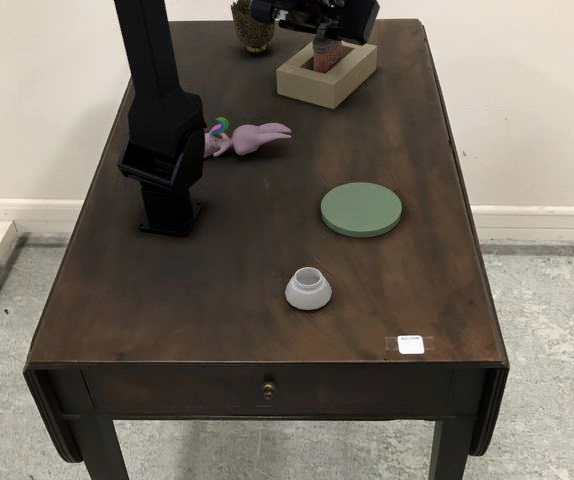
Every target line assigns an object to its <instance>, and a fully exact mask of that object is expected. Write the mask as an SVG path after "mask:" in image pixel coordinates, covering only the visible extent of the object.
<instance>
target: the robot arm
mask: <svg viewBox="0 0 574 480" xmlns="http://www.w3.org/2000/svg"><path fill="white" fill-rule="evenodd" d="M113 4H114V8H115V12H116V17H117V21H118V25H119V30H120V34H121V38H122V42H123V46H124V51H125V54H126V60H127V64H128V68H129V72H130V75H131V80H132V85H133V88H134V95H133V97H132V100H131V102H130V105H129V107H128V110H127V112H126V116H127V124H128V125H127V126H128V132H127V136H126V139H125V141H124V144H123V147H122V151H121V153H120V156H119V158H118V162H117V165H116V167H117V169H118V171H119V172H120V173H121V175H122V176H123V177H124V178H127V179H128V178H129V179H132V180H135V181H138V183H139V187H140V194H141V198H142V202H143V207H144V212H145V213H144V214H143V216H142V218H141V219H140V221H139V222H138V224H137V229H138V231H140V232H147V233H155V234H162V235H170V236H176V237H187V236H188V235H189V233H190V231H191V230H192V228H193V226H194V224H195V222H196V220H197V219H198V217H199V215H200V214H201V212H202V210H203V207H204V204H203V202H201V201H195V200H192V196H191V190H190V188H191V187H192V186H194V185H195V184H196V183H197V182H199V181H200V180H201V179H202V178H203V172H204V161H205V158H204V153H205V133H206V131H205V129H207V128H208V124H207V122H206V120H205V116H204V104H203V103H204V102H203V100H202V98H201V96H200V95H199V94H196V93H193V92H190V91H187V90H186V91H185V90H184V89H183V88H182V86H181V83H180V77H179V72H178V67H177V61H176V56H175V50H174V45H173V40H172V39H173V38H172V33H171V29H170V23H169V17H168V12H167V6H166V0H113ZM274 9H276V12H275V15H274V18H275V19H276V20H278V27H279V28H280V29H283V30H288V31H292V32H296V33H297V32H298V33H305V34H311V35H315V36H316V35H317V29H318V27H319V26H320V25H321V24H324V25H328V26H327V29H326V32H325V34H324V38H326V39H330V40H335V41H344V42H346V43H351V44H355V45H359V46H363V45H365V44H368V42H369V39H370V36H371V33H372V31H373V28H374V26H375V23H376V19H377V18H378V16H379V12H380V9H381V6H380V4H379V1H378V0H251V3H250V6H249V10H250V15H251V17H252V18H253V19H254V20H255V21H256V22H260V23H264V24H268V25H272V24H273V22H274V19H273V18H272V15H273V12H274Z"/></svg>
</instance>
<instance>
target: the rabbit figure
mask: <svg viewBox="0 0 574 480" xmlns="http://www.w3.org/2000/svg"><path fill="white" fill-rule="evenodd" d="M215 121H217V122H219V123H217V124H216V125H215V126H213V127H212V128H211V129H210V131H209V132H207V133H206V132H205V153H204V159H206V158H209V157H210V156H212V155H213V157H215V158H216V157H218V156H220V155H221V154H223V153H224V152H226V151H227V150H229V149H230V148H234V151H235V154H236V155H238V156H245V155H247V154H250V153H253V152H255V151H257V150H258V149H259V148H260V146H261V145H264V144H266V143H269V142H271V141H274V140H278V139H291V138H292V136H291V135H289V134H286V133H292V130H291V129H290V128H289V127H288V126H286V125H284V124H282V123H279V122H269V123H264V124H261V125H258V126H257V125H254V124H243V125H240V126H238V127H237V128H235V130H233V132H232V135H231V138H229V136H228V135H227V134H226V133H225V132H226V131H227V130H228V129H229V127H230V126H229V125H230V124H229V120H228V119H227V118H225V117H222V116H221V117H217V118H215ZM215 134H217V135H219V136H221V137H222V138H219V137H217V136H215Z"/></svg>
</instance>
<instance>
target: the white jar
mask: <svg viewBox="0 0 574 480" xmlns="http://www.w3.org/2000/svg"><path fill="white" fill-rule="evenodd" d="M332 293H333V291H332V287H331V285H330V283H329V282H328V280H327V278H326V277H325V276H324V275H323V274H322V272H321V271H320V269H317V268H314V267H310V266H307V267H302V268H299V269H297V270H296V272H295V273H294V275H293V276H292V277H291V279H290V280H289V282H288V283H287V285H286V288H285V291H284V295H285V298H286V301H287V302H288V303H289V304H290V305H291V306H292V307H295V308H297V309H299V310H305V311H306V310H307V311H310V310H317V309H320V308H322V307H324V306H326V305H327V304H328V302H329V301H330V300H331V297H332Z"/></svg>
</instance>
